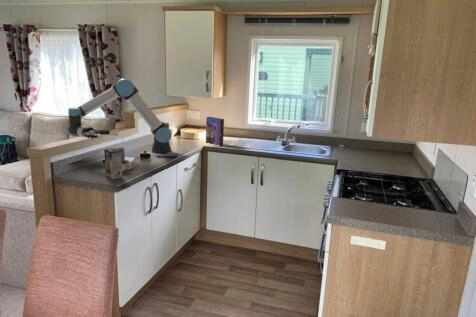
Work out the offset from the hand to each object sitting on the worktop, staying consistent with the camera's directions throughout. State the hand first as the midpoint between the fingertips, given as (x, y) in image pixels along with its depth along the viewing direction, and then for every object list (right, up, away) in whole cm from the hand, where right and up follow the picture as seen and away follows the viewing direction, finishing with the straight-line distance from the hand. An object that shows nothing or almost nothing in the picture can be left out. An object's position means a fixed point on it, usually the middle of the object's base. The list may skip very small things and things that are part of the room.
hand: (109, 135), depth 225 cm
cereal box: (+63, -3, +84) cm, 105 cm away
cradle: (+9, -22, -4) cm, 24 cm away
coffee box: (+10, -26, -21) cm, 35 cm away
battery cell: (+9, -21, -4) cm, 23 cm away
